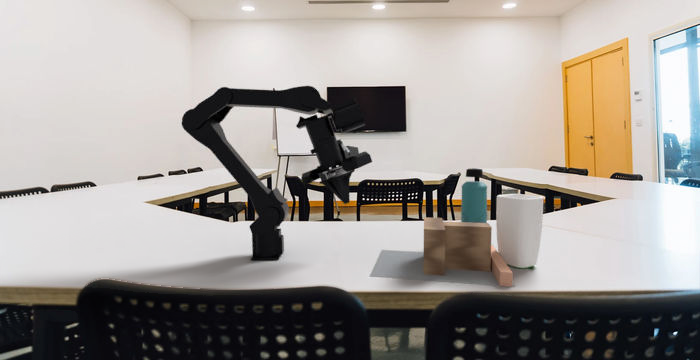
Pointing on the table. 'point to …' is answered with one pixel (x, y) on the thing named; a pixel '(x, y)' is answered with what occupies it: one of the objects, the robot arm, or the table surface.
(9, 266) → the table surface
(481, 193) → the teal bottle
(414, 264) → the runner mat
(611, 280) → the table surface
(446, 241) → the t block
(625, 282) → the table surface
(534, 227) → the cup
